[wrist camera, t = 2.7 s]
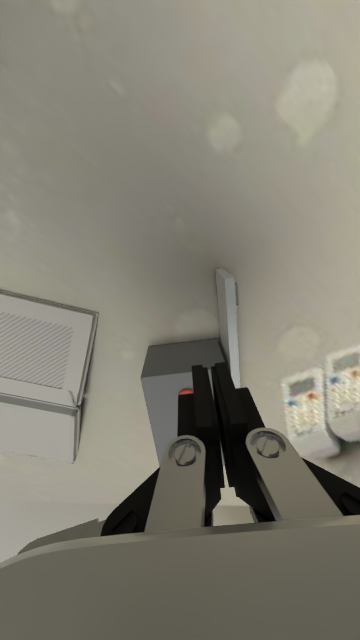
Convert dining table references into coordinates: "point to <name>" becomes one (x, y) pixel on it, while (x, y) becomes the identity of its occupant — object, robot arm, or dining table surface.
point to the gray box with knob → (173, 383)
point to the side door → (228, 321)
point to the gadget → (42, 375)
